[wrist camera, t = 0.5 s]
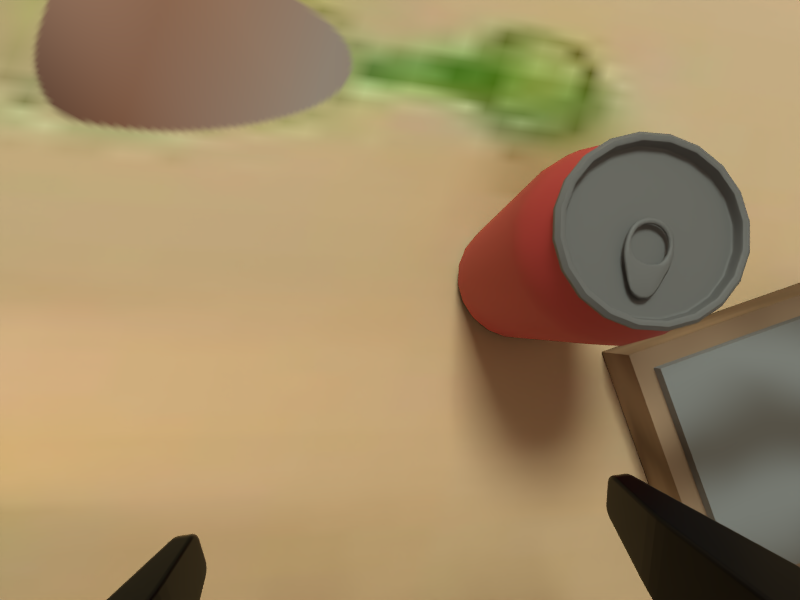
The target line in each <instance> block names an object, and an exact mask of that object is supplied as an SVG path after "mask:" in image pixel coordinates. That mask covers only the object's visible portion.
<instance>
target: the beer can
mask: <svg viewBox="0 0 800 600" xmlns="http://www.w3.org/2000/svg"><path fill="white" fill-rule="evenodd" d="M749 253H750V221H749V218H748V214H747V211H746V208H745V205H744V201H743V198H742V195H741V192H740V190H739V189H738V187H737V186H736V184H735V183H734V181H733V180H732V178H731V177H730V175H729V174H728V172H727V171H726V170H725V168H724V167H723V165H722V164H720V163H719V162H718V161H717V160H715V159H714V158H713V157H712V156H710V155H709V154H708V153H707V152H706V151H704V150H703V149H702V148H701V147H699V146H698V145H695V144H693V143H690V142H688V141H685V140H683V139H680V138H678V137H676V136H673V135H671V134H660V133H648V132H637V133H633V134H629V135H624V136H620V137H616V138H612V139H609V140H608V141H606V142H605V143H603V144H602V145H599V146H595V147H591V148H587V149H583V150H579V151H577V152H574V153H572V154H569V155H567V156H565V157H564V158H562V159H561V160H559V161H557V162H556V163H554V164H553V165H551V166H550V167H548V168H546V169H545V170H543V171H542V172H541V173H540V174H539V175H537V176H536V177H535V178H534V179H533V180H532V181H531V182H530V183H529V184H528V185H527V186H526V187H525V188H524V189H523V190H522V191H521V192H520V193H519V194H518V195H517V196H516V197H515V198H514V199H513V200H512V201H511V202H510V203H509V204H508V205H507V206H506V207H505V208H503V209H502V210H501V211H500V212H499V213H498V214H497V215H496V216H495V217H494V218H493V219H492V220H491V221H490V222H489V223H488V224H487V225H486V226H485V227H484V228H483V229H482V230H481V231H480V232H479V233H478V234H477V235H476V236H475V237H474V239H473V240H472V241H471V242H470V243H469V245H468V246H467V247H466V248H465V251H464V254H463V256H462V259H461V261H460V264H459V276H458V285H459V289H460V293H461V297H462V300H463V303H464V304H465V306H466V307H467V309H468V311H469V312H470V314H471V315H472V317H473V318H474V319H475V320H477V321H478V322H479V323H480V324H481V325H483V326H484V327H485V328H486V329H487V330H490V331H492V332H495V333H497V334H500V335H502V336H505V337H516V338H527V339H539V340H550V341H561V342H573V343H584V344H598V345H615V346H623V345H627V344H631V343H634V342H638V341H642V340H645V339H649V338H653V337H656V336H660V335H663V334H666V333H667V332H669V331H671V330H673V329H677V328H681V327H684V326H688V325H692V324H695V323H698V322H699V321H701V320H702V319H704V318H705V317H707V316H708V315H709V314H711V313H712V312H714V311H715V310H717V309H718V308H720V307H721V306H722V305H723V304H724V303H725V301H726V300H727V299H728V297H729V296H730V295H731V293H732V292H733V290H734V289H735V288H736V286H737V285H738V284H739V282H740V281H741V277H742V274H743V271H744V268H745V265H746V262H747V259H748V256H749Z"/></svg>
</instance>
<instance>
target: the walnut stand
mask: <svg viewBox="0 0 800 600" xmlns="http://www.w3.org/2000/svg"><path fill="white" fill-rule="evenodd" d="M602 353H603V356H604V359H605V362H606V365H607V367H608V370H609V373H610V376H611V379H612V382H613V384H614V387H615V390H616V393H617V396H618V398H619V401H620V404H621V407H622V410H623V412H624V415H625V418H626V421H627V424H628V427H629V429H630V432H631V435H632V438H633V441H634V443H635V446H636V449H637V452H638V455H639V457H640V460H641V463H642V466H643V469H644V471H645V474H646V477H647V480H648V483H649V485H650V486H652V487H654V488H656V489H658V490H660V491H661V492H663V493H665V494H667V495H669V496H671V497H672V498H674V499H676V500H678V501H680V502H682V503H683V504H685V505H687V506H689V507H691V508H693V509H695V510H696V511H698V512H700V513H702V514H704V515H706V516H707V517H709V518H711V519H713V520H715V521H717V522H718V523H720V524H722V525H724V526H726V527H728V528H729V529H731V530H733V531H735V532H737V533H739V534H740V535H742V536H744V537H746V538H748V539H750V540H751V541H753V542H755V543H757V544H759V545H761V546H763V547H764V548H766V549H768V550H770V551H772V552H774V553H775V554H777V555H779V556H781V557H783V558H785V559H786V560H788V561H790V562H792V563H794V564H796V565H797V566H799V567H800V283H798V284H795V285H792V286H789V287H787V288H784V289H781V290H778V291H775V292H772V293H769V294H767V295H764V296H761V297H758V298H755V299H752V300H749V301H746V302H744V303H741V304H738V305H735V306H732V307H729V308H726V309H724V310H721V311H718V312H715V313H712V314H709V315H708V316H707V317H705V318H704V319H702V320H701V321H699V322H698V323H695V324H692V325H688V326H684V327H681V328H677V329H673V330H671V331H669V332H667V333H666V334H663V335H660V336H656V337H653V338H649V339H645V340H642V341H638V342H634V343H631V344H627V345H623V346H618V347H615V348H612V349H609V350H606V351H603V352H602Z"/></svg>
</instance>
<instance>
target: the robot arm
mask: <svg viewBox="0 0 800 600" xmlns="http://www.w3.org/2000/svg"><path fill="white" fill-rule="evenodd" d="M606 506H607V512H608V515H609V517H610V519H611V521H612V523H613V525H614V527H615V529H616V531H617V533H618V535H619V537H620V539H621V541H622V543H623V545H624V547H625V548H626V550H627V552H628V554H629V556H630V558H631V560H632V562H633V564H634V566H635V568H636V570H637V572H638V574H639V576H640V578H641V580H642V581H643V583H644V585H645V587H646V589H647V591H648V592H649V594H650V596H651V597H652V599H653V600H800V567H799V566H797V565H796V564H794V563H792V562H790V561H788V560H786V559H785V558H783V557H781V556H779V555H777V554H775V553H774V552H772V551H770V550H768V549H766V548H764V547H763V546H761V545H759V544H757V543H755V542H753V541H751V540H750V539H748V538H746V537H744V536H742V535H740V534H739V533H737V532H735V531H733V530H731V529H729V528H728V527H726V526H724V525H722V524H720V523H718V522H717V521H715V520H713V519H711V518H709V517H707V516H706V515H704V514H702V513H700V512H698V511H696V510H695V509H693V508H691V507H689V506H687V505H685V504H683V503H682V502H680V501H678V500H676V499H674V498H672V497H671V496H669V495H667V494H665V493H663V492H661V491H660V490H658V489H656V488H654V487H652V486H650V485H649V484H647V483H645V482H643V481H641V480H639V479H638V478H636V477H634V476H632V475H630V474H621V475H613V476H611V477H610V478H609V480H608V489H607V503H606ZM205 576H206V561H205V557H204V554H203V551H202V548H201V544H200V541H199V538H198V536H197V535H195V534H189V535H182V536H177V537H175V538H173V539H172V540H171V541H170V542H169V543H168V544H166V545H165V546H164V547H163V548H162V549H161V550H160V551H159V552H158V553H157V554H156V555H155V556H153V557H152V558H151V559H150V560H149V561H148V562H147V563H146V564H145V565H144V566H143V567H142V568H141V569H139V570H138V571H137V572H136V573H135V574H134V575H133V576H132V577H131V578H130V579H129V580H128V581H126V582H125V583H124V584H123V585H122V586H121V587H120V588H119V589H118V590H117V591H116V592H115V593H113V594H112V595H111V596H110V597H109V598H108V599H107V600H200V597H201V593H202V589H203V585H204V581H205Z"/></svg>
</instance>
